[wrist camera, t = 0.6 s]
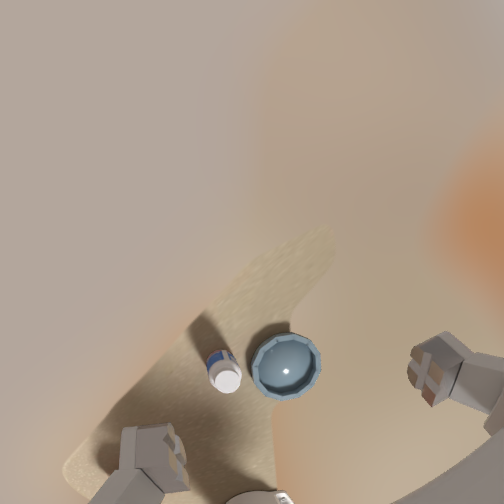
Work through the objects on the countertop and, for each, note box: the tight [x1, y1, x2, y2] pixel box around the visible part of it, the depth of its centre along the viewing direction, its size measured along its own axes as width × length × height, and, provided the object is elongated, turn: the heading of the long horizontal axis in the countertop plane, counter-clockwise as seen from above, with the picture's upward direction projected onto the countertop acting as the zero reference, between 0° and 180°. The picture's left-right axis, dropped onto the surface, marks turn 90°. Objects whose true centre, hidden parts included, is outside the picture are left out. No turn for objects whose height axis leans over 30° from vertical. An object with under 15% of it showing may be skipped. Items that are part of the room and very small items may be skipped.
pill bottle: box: [206, 350, 242, 393], centre depth 49 cm, size 6×5×10 cm
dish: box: [251, 332, 321, 401], centre depth 55 cm, size 13×13×2 cm
